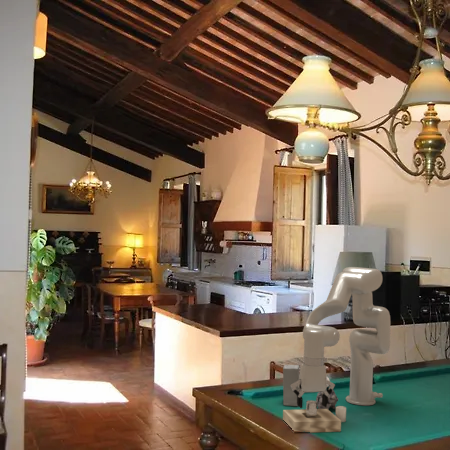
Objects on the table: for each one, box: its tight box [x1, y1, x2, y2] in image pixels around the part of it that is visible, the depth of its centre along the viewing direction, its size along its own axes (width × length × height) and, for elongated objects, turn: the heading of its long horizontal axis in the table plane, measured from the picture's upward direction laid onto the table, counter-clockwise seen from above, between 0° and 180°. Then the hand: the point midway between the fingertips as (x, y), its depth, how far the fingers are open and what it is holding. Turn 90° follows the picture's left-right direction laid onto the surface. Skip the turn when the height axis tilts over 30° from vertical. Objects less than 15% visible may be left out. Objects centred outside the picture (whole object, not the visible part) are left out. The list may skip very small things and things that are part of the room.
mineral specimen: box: [315, 389, 339, 410], centre depth 239 cm, size 12×9×10 cm
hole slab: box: [282, 408, 342, 433], centre depth 219 cm, size 18×14×4 cm
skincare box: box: [282, 364, 300, 407], centre depth 247 cm, size 8×7×16 cm
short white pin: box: [335, 405, 347, 423], centre depth 227 cm, size 4×4×5 cm
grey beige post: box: [305, 400, 318, 418], centre depth 219 cm, size 4×4×9 cm
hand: (312, 406), depth 220 cm, fingers open, 9 cm apart
